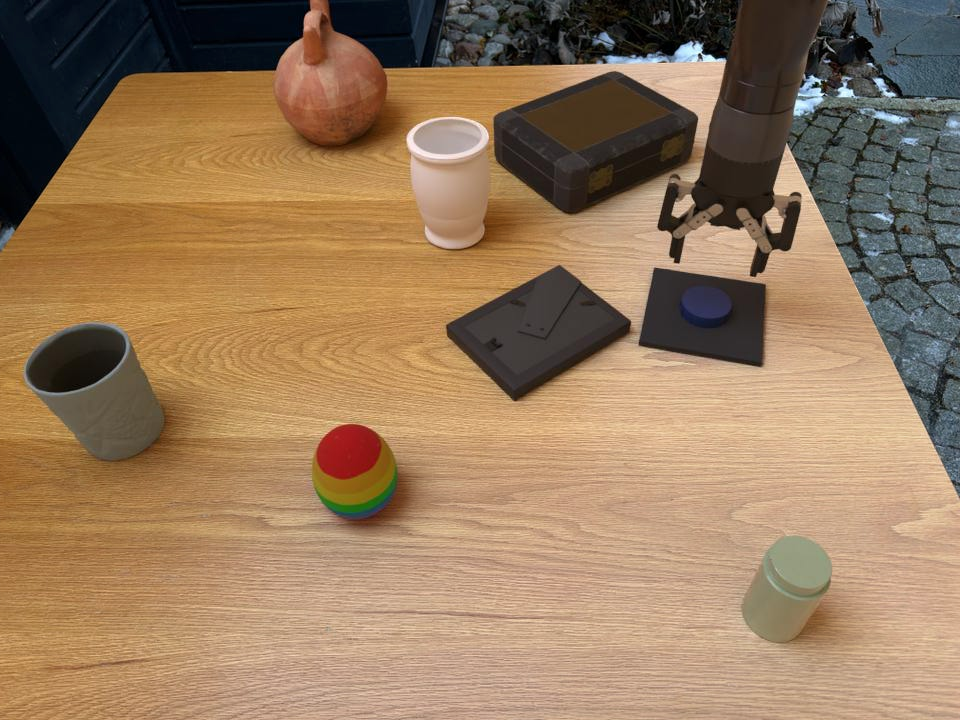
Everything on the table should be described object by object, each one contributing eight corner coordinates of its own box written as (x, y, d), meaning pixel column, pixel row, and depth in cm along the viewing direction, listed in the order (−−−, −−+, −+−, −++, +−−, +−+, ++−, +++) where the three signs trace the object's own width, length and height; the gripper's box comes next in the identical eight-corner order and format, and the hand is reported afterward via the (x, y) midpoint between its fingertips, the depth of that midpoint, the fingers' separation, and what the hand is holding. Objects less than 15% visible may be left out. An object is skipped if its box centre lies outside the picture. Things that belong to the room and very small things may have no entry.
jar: (402, 239, 105) (389, 143, 94) (446, 202, 110) (438, 108, 99) (464, 265, 100) (457, 167, 89) (506, 225, 106) (505, 129, 95)
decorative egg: (323, 465, 78) (304, 404, 71) (401, 459, 79) (389, 397, 71) (317, 534, 73) (295, 475, 65) (401, 527, 73) (388, 468, 66)
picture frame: (558, 276, 98) (446, 335, 91) (558, 263, 96) (445, 322, 89) (630, 332, 90) (514, 401, 83) (632, 318, 89) (514, 388, 82)
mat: (764, 288, 95) (766, 283, 94) (760, 367, 86) (762, 362, 85) (653, 271, 98) (654, 267, 97) (638, 345, 89) (639, 341, 88)
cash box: (609, 109, 127) (613, 65, 122) (695, 160, 115) (704, 114, 110) (487, 157, 118) (486, 111, 113) (567, 218, 106) (570, 171, 101)
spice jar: (802, 593, 67) (835, 539, 60) (804, 649, 63) (838, 599, 57) (742, 580, 68) (767, 526, 61) (740, 634, 64) (766, 583, 58)
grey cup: (181, 440, 81) (140, 366, 73) (86, 483, 78) (31, 410, 69) (155, 383, 87) (115, 307, 79) (66, 420, 84) (14, 346, 75)
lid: (672, 317, 91) (674, 307, 89) (690, 289, 94) (692, 280, 93) (719, 334, 88) (721, 324, 87) (735, 305, 92) (738, 295, 90)
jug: (386, 156, 120) (368, 30, 105) (275, 159, 120) (241, 35, 106) (396, 100, 132) (381, -19, 118) (295, 103, 133) (268, -15, 118)
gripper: (668, 149, 73) (647, 275, 85) (821, 169, 70) (777, 298, 82) (679, 111, 78) (658, 236, 90) (823, 129, 75) (781, 256, 87)
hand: (715, 265), depth 86 cm, fingers open, 8 cm apart
